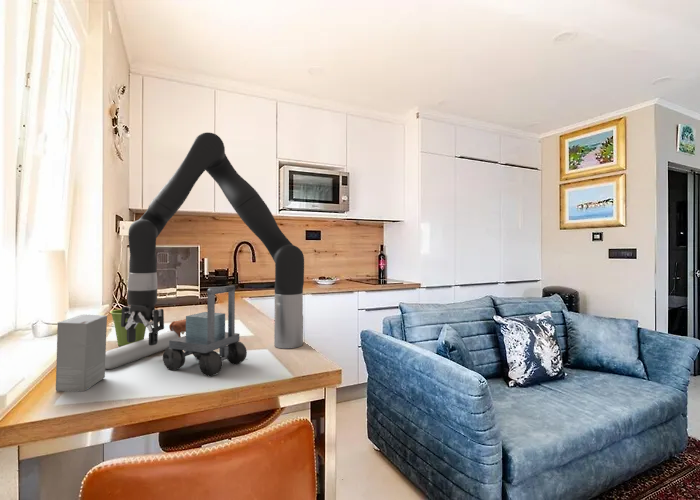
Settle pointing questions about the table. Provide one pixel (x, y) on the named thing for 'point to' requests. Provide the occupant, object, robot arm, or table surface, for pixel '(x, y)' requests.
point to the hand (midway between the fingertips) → (141, 343)
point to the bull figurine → (178, 327)
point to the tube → (137, 350)
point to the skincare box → (80, 352)
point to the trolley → (208, 338)
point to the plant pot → (122, 332)
